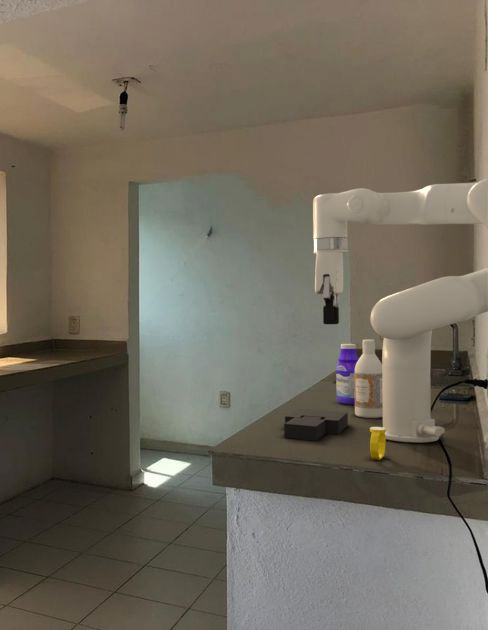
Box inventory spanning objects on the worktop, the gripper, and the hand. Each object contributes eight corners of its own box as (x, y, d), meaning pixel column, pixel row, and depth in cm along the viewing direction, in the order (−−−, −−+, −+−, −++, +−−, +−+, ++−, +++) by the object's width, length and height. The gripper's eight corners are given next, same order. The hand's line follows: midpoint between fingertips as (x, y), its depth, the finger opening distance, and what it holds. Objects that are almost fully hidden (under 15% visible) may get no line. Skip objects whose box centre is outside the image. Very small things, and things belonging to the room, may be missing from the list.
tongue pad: (328, 431, 152) (328, 417, 152) (316, 440, 143) (316, 426, 143) (297, 428, 156) (297, 415, 156) (284, 437, 147) (284, 423, 147)
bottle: (332, 402, 193) (331, 343, 193) (348, 401, 195) (347, 343, 194) (349, 406, 186) (349, 345, 186) (366, 404, 188) (365, 344, 188)
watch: (374, 454, 130) (374, 424, 130) (389, 456, 128) (389, 426, 128) (366, 460, 125) (366, 429, 125) (381, 462, 123) (381, 431, 123)
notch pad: (347, 425, 159) (347, 412, 159) (338, 434, 149) (338, 420, 149) (297, 421, 166) (297, 408, 166) (285, 429, 156) (284, 416, 155)
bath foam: (349, 415, 171) (348, 340, 171) (365, 412, 175) (364, 338, 175) (373, 419, 166) (372, 341, 165) (389, 416, 169) (389, 339, 169)
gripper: (320, 249, 162) (321, 322, 163) (306, 245, 150) (307, 325, 150) (352, 247, 158) (353, 322, 159) (341, 243, 146) (342, 325, 146)
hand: (331, 323), depth 155 cm, fingers closed
